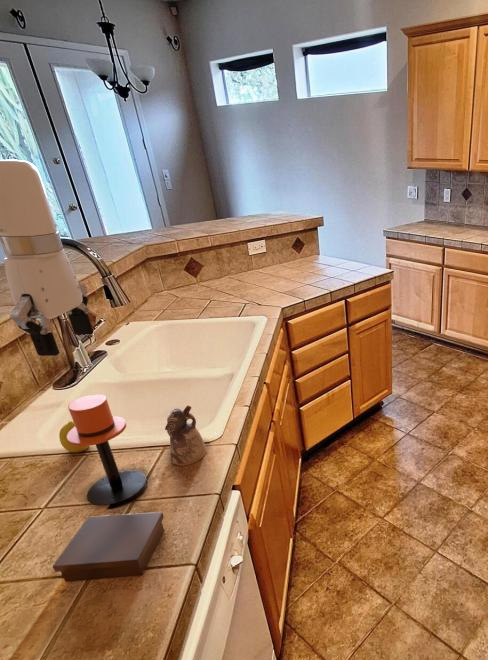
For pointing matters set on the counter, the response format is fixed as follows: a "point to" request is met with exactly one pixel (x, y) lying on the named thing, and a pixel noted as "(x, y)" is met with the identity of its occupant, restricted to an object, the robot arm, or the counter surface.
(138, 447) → the counter surface
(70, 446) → the lemon
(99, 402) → the hat
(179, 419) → the figurine
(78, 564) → the walnut stand
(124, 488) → the hat stand
